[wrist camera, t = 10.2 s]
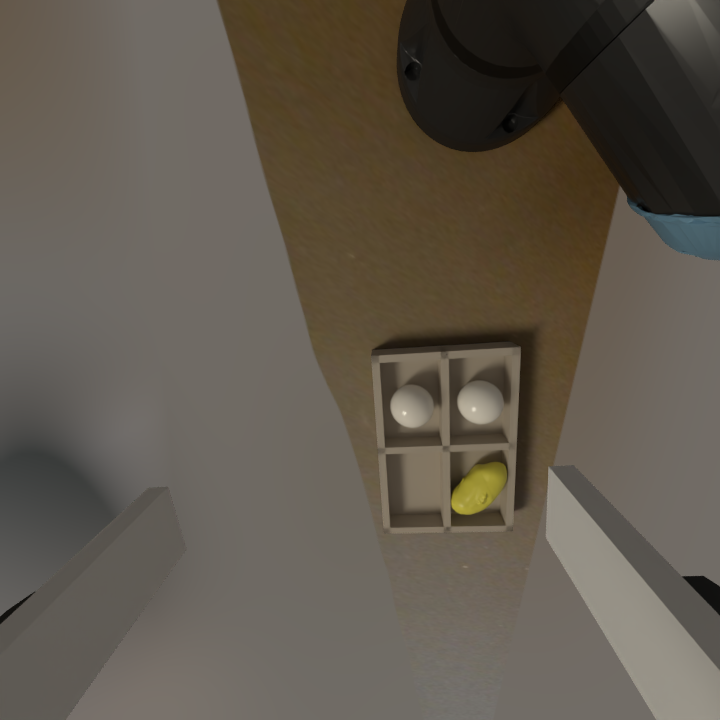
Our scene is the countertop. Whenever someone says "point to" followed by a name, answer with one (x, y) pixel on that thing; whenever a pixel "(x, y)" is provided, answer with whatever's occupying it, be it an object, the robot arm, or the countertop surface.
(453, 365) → the divided tray
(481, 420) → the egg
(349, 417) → the countertop surface
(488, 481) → the yellow oval piece
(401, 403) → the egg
